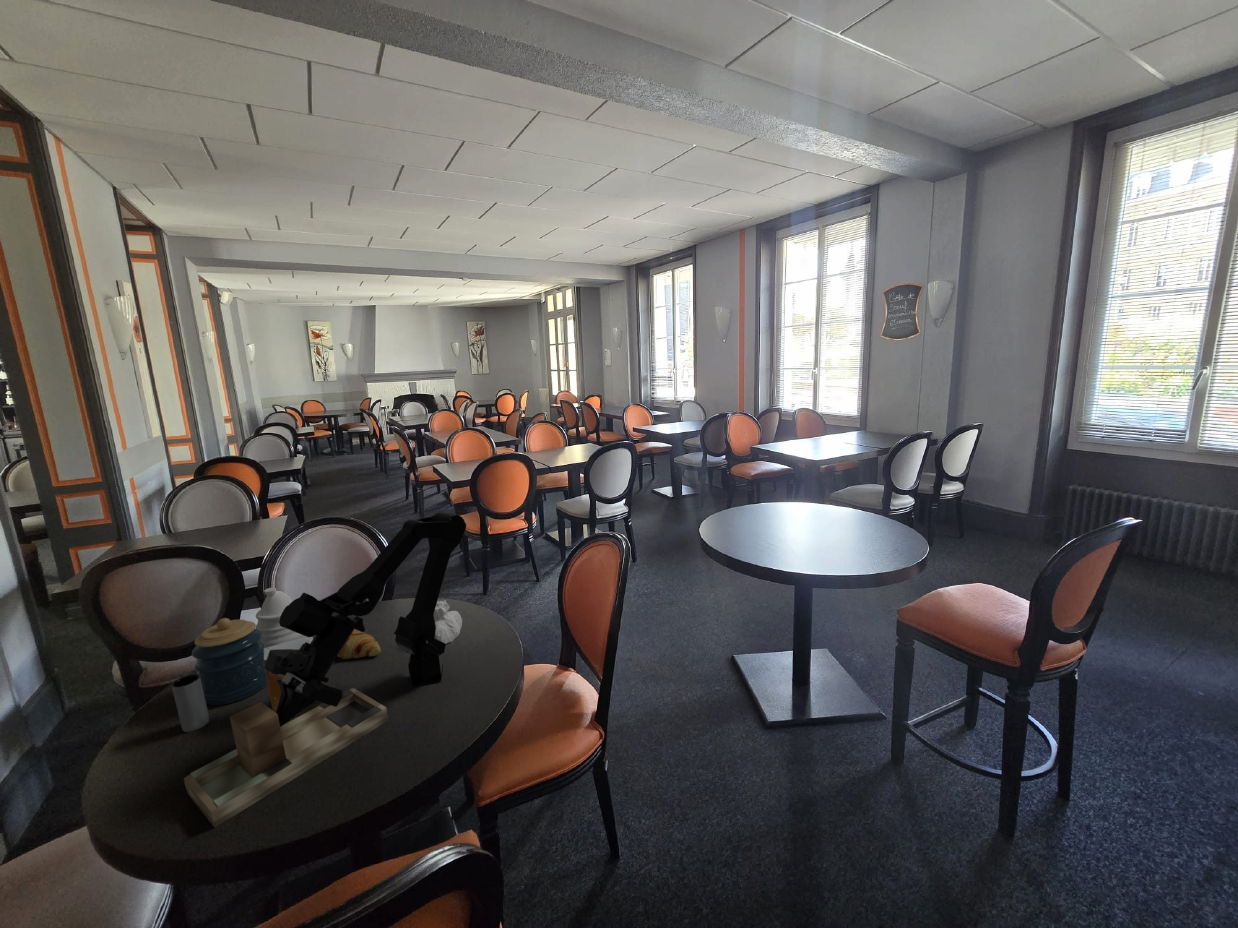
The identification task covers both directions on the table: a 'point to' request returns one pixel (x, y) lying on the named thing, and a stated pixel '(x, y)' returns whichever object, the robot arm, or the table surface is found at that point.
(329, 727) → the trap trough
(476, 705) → the table surface
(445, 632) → the white lumpy piece
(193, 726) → the planter
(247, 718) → the walnut block
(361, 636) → the croissant
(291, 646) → the small box
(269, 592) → the honey pot
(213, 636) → the canister
